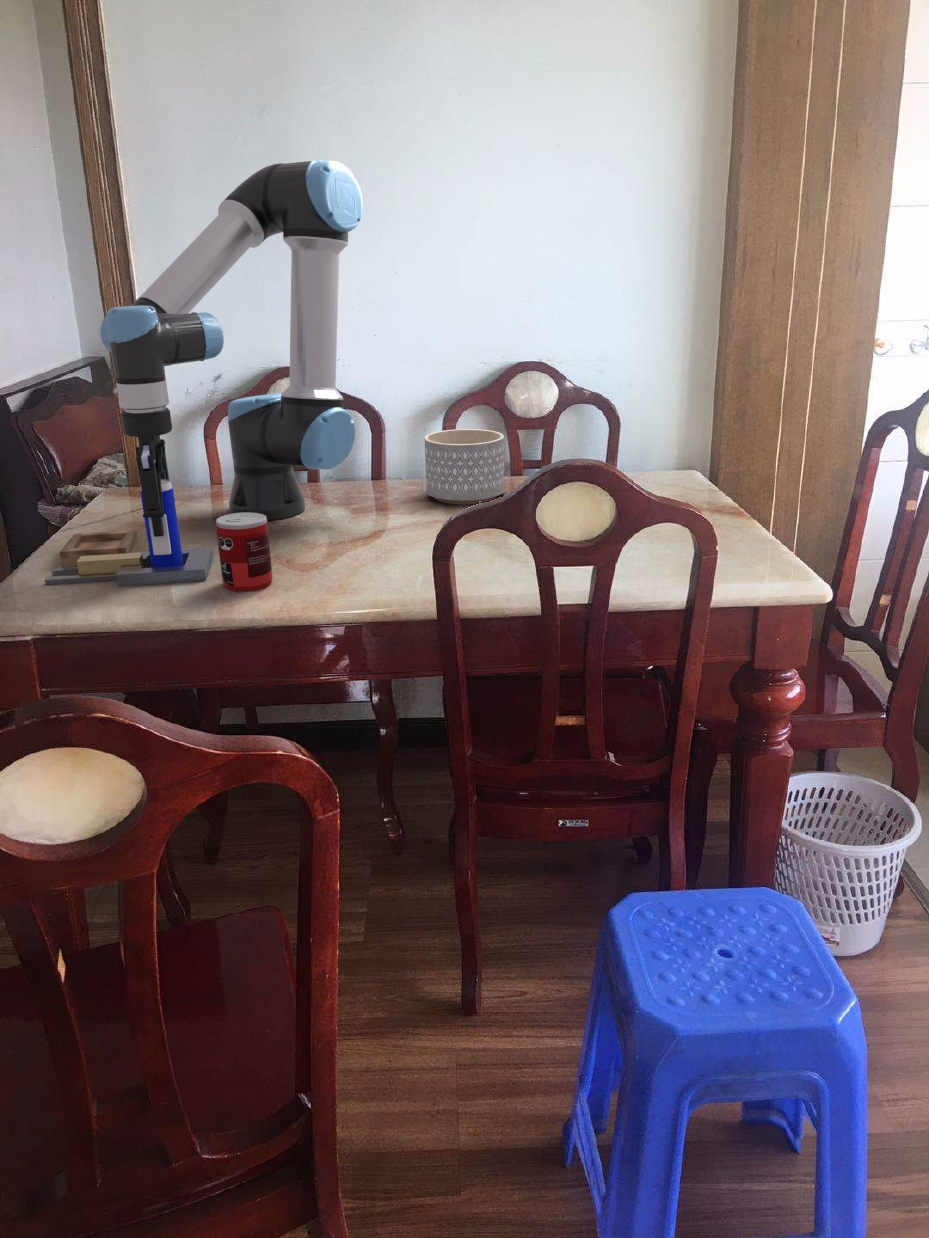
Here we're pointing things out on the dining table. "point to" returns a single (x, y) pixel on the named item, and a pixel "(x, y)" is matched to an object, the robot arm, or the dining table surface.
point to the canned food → (244, 551)
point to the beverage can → (173, 530)
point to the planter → (464, 465)
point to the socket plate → (148, 571)
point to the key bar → (107, 563)
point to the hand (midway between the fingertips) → (165, 548)
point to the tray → (98, 545)
